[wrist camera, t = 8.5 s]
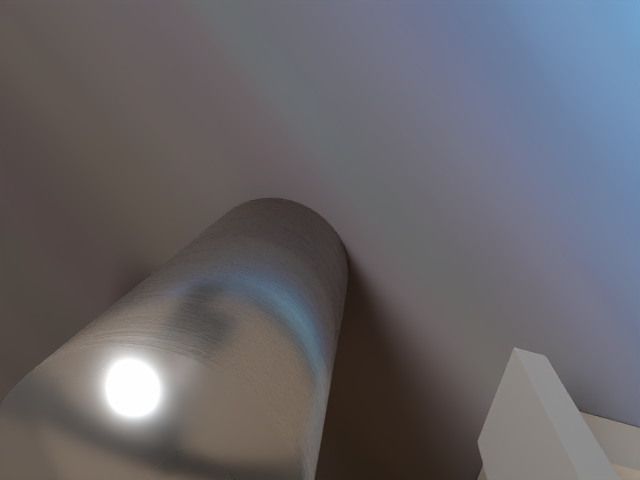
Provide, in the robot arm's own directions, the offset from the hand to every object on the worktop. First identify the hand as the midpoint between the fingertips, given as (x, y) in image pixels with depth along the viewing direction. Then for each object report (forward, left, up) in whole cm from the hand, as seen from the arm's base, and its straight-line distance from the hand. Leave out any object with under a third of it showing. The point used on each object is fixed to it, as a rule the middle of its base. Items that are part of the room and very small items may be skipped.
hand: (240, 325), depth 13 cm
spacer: (0, 0, -4) cm, 4 cm away
